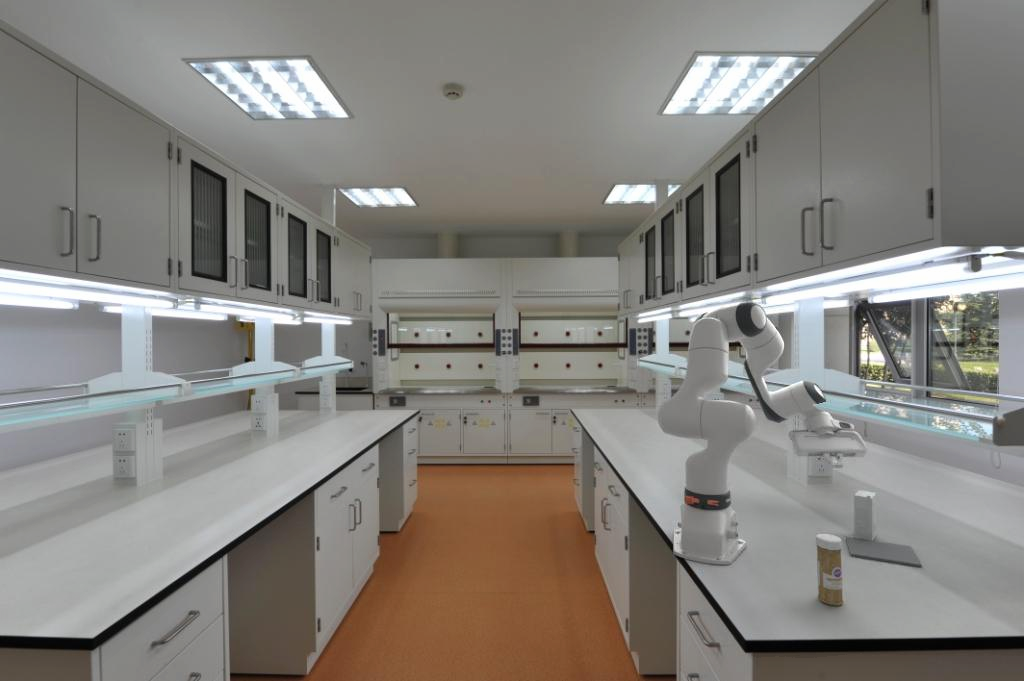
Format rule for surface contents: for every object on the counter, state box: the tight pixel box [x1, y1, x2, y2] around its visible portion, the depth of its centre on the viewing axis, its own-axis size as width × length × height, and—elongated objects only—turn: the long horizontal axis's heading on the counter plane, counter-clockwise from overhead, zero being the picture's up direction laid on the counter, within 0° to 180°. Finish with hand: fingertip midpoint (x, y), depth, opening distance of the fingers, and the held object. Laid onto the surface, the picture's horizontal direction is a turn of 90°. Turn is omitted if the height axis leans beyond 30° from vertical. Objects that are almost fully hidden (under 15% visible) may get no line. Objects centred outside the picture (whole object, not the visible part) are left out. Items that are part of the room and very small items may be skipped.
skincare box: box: [853, 490, 878, 541], centre depth 134 cm, size 6×4×12 cm
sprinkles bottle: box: [815, 533, 844, 607], centre depth 102 cm, size 5×5×14 cm
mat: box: [845, 536, 923, 568], centre depth 124 cm, size 12×14×1 cm
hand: (837, 467), depth 148 cm, fingers closed
